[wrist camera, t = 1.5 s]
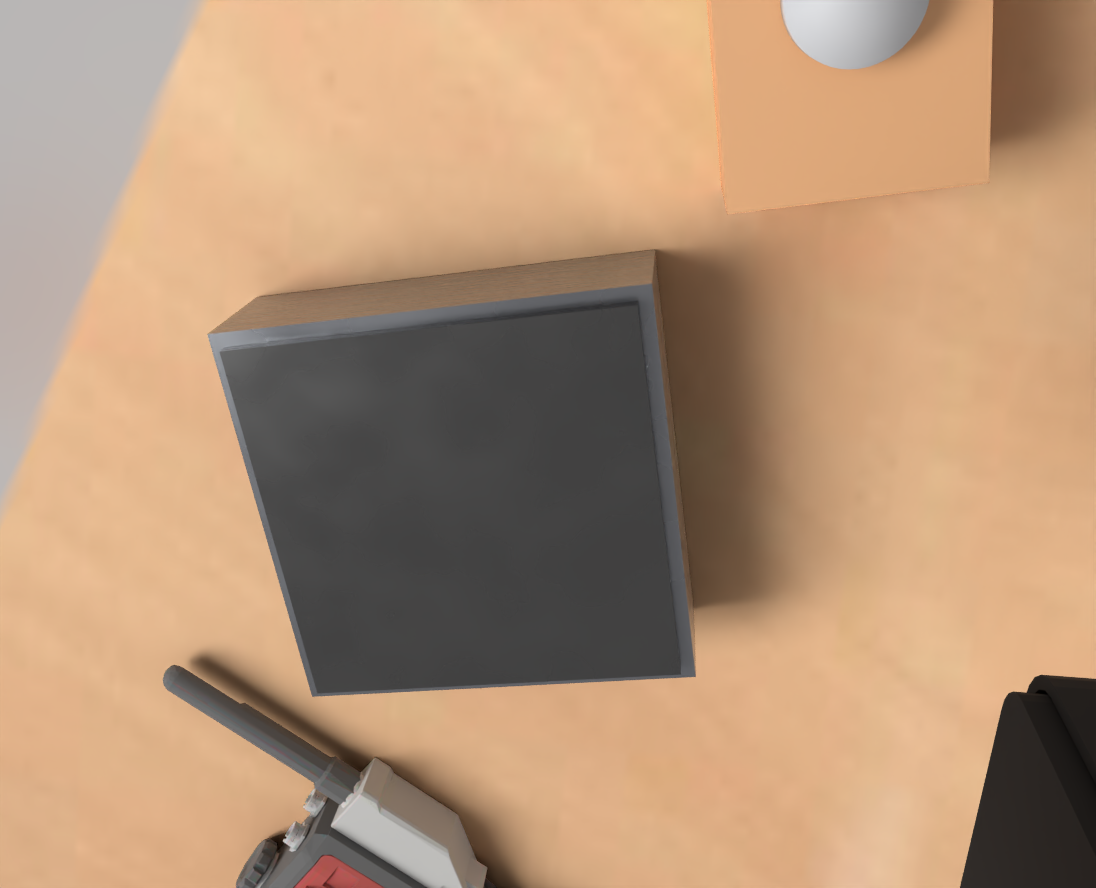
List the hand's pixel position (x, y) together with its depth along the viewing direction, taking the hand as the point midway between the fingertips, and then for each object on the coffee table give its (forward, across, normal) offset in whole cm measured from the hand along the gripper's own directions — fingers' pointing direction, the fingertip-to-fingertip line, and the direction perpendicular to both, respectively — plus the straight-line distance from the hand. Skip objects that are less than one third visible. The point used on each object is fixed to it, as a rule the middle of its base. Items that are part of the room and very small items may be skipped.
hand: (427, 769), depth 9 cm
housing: (+23, -6, -6) cm, 24 cm away
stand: (+22, +4, +8) cm, 24 cm away
